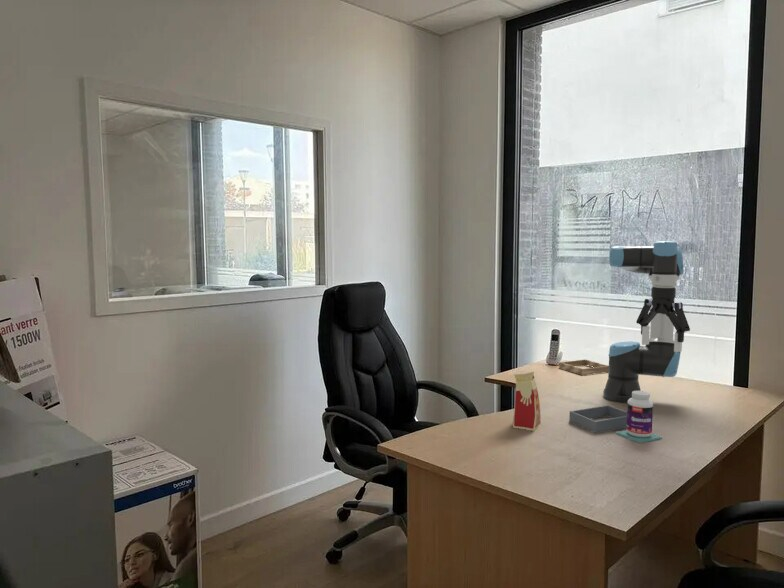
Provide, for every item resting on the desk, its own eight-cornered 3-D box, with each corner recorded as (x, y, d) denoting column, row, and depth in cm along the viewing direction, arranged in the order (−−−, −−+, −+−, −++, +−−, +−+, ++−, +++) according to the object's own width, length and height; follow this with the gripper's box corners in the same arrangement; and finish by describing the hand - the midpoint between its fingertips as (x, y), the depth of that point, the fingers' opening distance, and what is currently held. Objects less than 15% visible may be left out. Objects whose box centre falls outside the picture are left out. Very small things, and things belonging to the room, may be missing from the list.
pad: (616, 433, 201) (616, 432, 201) (638, 429, 205) (638, 427, 205) (639, 443, 192) (639, 441, 192) (661, 438, 196) (661, 436, 196)
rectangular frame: (569, 422, 213) (569, 411, 213) (607, 415, 221) (608, 405, 220) (595, 433, 201) (595, 421, 201) (635, 425, 209) (635, 414, 208)
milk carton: (540, 423, 212) (541, 369, 210) (535, 431, 204) (536, 374, 202) (515, 420, 216) (516, 366, 214) (509, 427, 207) (510, 372, 205)
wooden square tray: (559, 368, 297) (559, 362, 297) (585, 365, 304) (585, 359, 304) (582, 375, 282) (582, 369, 281) (609, 372, 289) (609, 366, 288)
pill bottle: (628, 437, 195) (630, 395, 194) (624, 429, 203) (625, 389, 201) (654, 439, 193) (656, 396, 192) (649, 431, 201) (650, 390, 200)
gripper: (627, 284, 210) (625, 342, 213) (687, 290, 188) (684, 355, 190) (642, 283, 213) (640, 340, 216) (703, 289, 191) (700, 353, 193)
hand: (661, 347), depth 203 cm, fingers open, 13 cm apart
